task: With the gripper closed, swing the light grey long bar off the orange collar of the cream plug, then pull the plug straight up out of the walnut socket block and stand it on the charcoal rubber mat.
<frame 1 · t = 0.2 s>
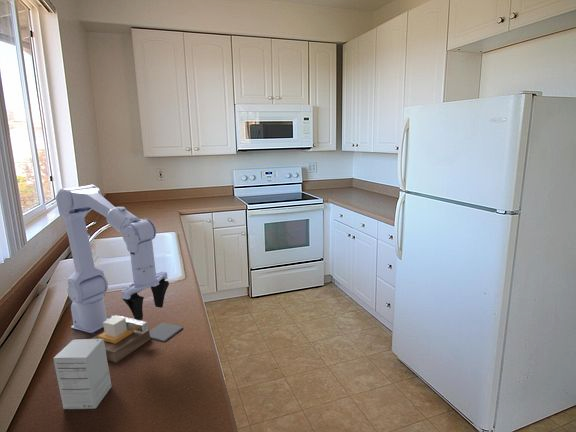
hand: (149, 312, 100), 10 cm above the worktop, tool pointing down, fingers open, 7 cm apart
supplement box: (88, 398, 82), on the worktop
mat: (163, 332, 109), on the worktop
light grey long bar: (127, 325, 104), point 5 cm above the worktop, hinge at 0.0°
socket block: (118, 346, 103), on the worktop
plug: (116, 333, 102), in the socket block
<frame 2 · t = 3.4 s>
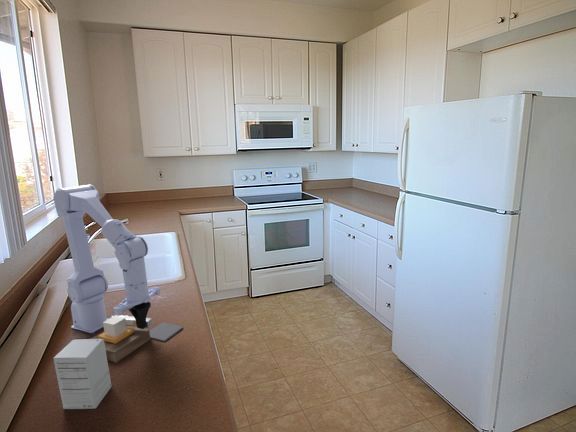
hand: (141, 327, 102), 5 cm above the worktop, tool pointing down, fingers closed, pressing on light grey long bar
light grey long bar: (129, 323, 105), point 5 cm above the worktop, hinge at 9.8°, touching gripper
everything else where it was.
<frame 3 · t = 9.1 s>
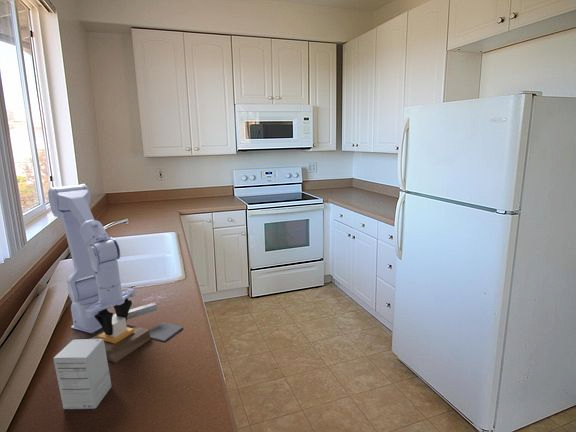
hand: (115, 330, 102), 5 cm above the worktop, tool pointing down, fingers closed on plug, 4 cm apart
light grey long bar: (133, 315, 110), point 5 cm above the worktop, hinge at 61.3°
plug: (116, 333, 102), in the socket block, touching gripper
everything else where it was.
when the fingers open (7 cm above the worktop, at t = 12.0 s): plug stays where it is, resting on mat.
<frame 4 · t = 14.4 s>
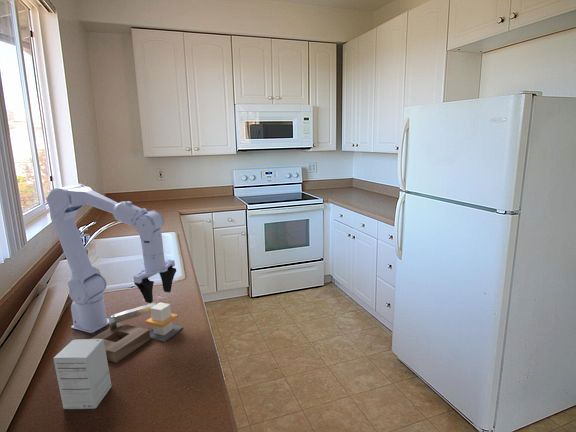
hand: (158, 296, 109), 10 cm above the worktop, tool pointing down, fingers open, 7 cm apart
plug: (161, 318, 108), on the mat
everything else where it was.
at the end: light grey long bar at +61° (first picture: +0°); plug 0.0 cm off-centre on the mat, point 4.5 cm above the mat's base; plug tilted 0° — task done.
